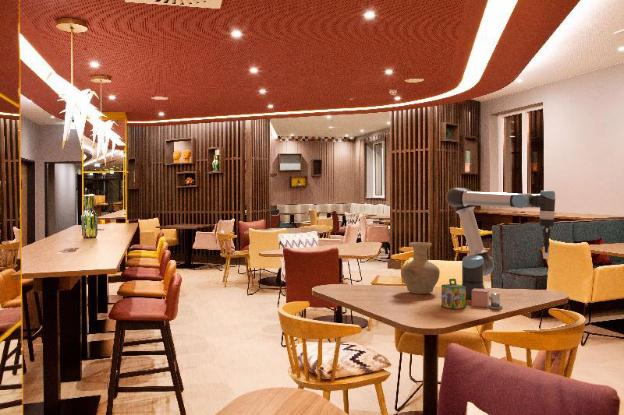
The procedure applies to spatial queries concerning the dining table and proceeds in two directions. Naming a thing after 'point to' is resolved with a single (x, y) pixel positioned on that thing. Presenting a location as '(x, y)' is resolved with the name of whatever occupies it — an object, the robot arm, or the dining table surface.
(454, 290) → the chalk box
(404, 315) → the dining table surface
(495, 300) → the stud
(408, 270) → the vase
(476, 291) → the terracotta cube
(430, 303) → the dining table surface
